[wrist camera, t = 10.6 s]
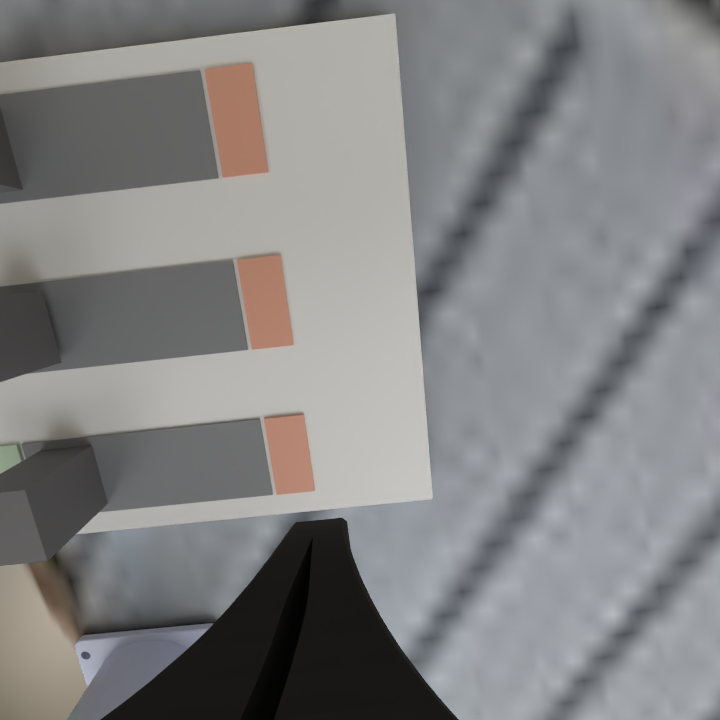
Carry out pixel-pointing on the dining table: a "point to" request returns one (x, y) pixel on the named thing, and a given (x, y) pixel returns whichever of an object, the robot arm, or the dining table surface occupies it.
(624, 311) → the dining table surface
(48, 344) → the breaker
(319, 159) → the panel
